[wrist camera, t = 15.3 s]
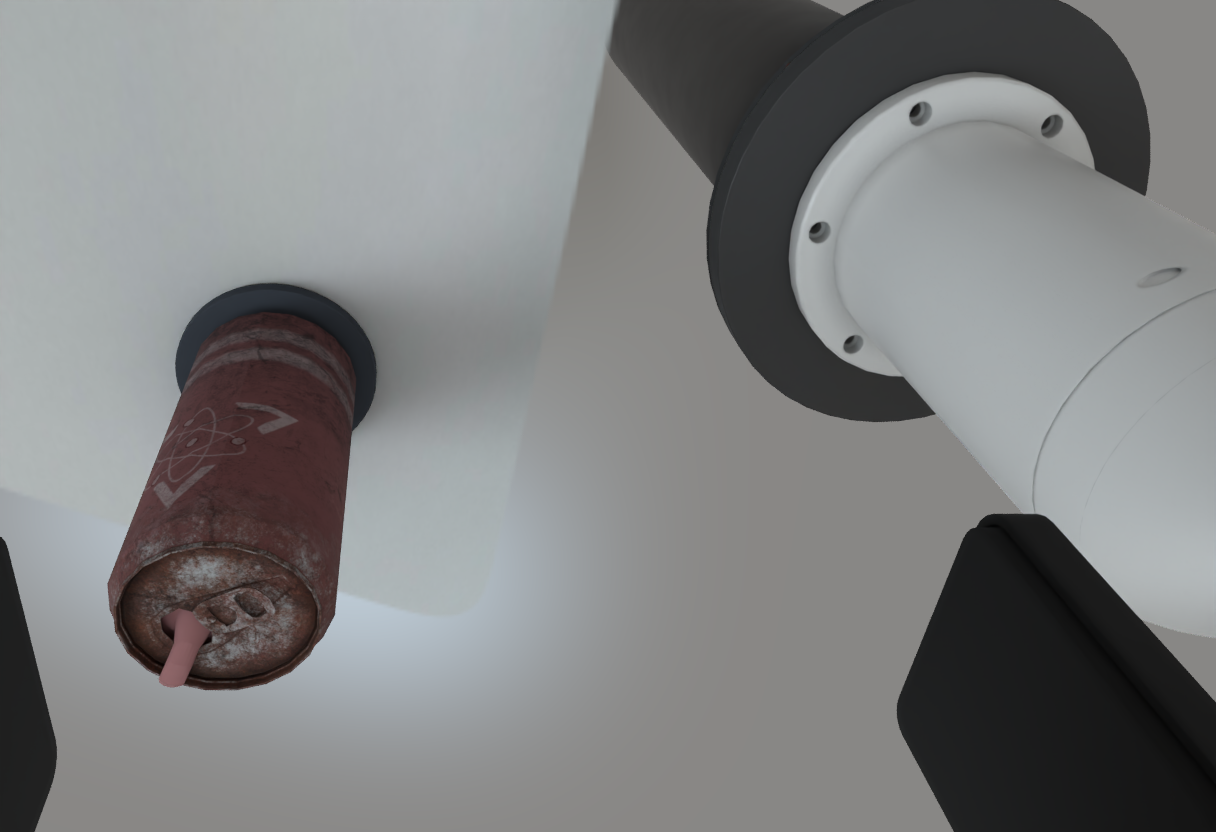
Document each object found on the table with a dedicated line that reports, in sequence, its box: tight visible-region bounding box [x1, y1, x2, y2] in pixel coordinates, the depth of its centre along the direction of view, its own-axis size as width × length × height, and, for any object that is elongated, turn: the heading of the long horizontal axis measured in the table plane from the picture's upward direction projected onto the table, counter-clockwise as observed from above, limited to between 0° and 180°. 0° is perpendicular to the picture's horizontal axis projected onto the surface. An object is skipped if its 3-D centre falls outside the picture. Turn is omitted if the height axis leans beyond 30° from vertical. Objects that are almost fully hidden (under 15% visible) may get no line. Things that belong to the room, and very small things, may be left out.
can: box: [108, 312, 356, 690], centre depth 32 cm, size 6×6×14 cm
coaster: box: [175, 284, 377, 431], centre depth 38 cm, size 8×8×1 cm
